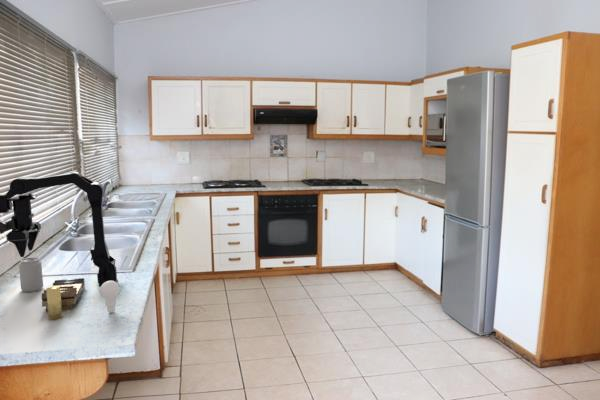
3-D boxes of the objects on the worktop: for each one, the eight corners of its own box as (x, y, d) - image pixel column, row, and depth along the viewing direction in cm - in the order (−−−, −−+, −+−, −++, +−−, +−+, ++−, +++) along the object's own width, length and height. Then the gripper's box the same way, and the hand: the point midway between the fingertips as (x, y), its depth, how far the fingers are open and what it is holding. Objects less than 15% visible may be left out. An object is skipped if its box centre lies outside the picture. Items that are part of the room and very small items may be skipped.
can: (47, 286, 192) (44, 256, 190) (37, 293, 185) (35, 261, 183) (27, 286, 192) (24, 256, 190) (17, 293, 184) (14, 261, 183)
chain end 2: (85, 288, 190) (84, 277, 189) (78, 303, 174) (77, 291, 174) (56, 290, 187) (55, 279, 186) (46, 306, 172) (45, 293, 171)
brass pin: (63, 315, 164) (61, 285, 162) (61, 319, 160) (58, 289, 158) (50, 316, 163) (47, 286, 161) (47, 320, 159) (45, 290, 157)
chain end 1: (82, 293, 184) (81, 277, 183) (75, 309, 168) (74, 291, 167) (52, 296, 181) (51, 279, 180) (42, 312, 166) (41, 294, 165)
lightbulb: (98, 312, 166) (96, 280, 164) (116, 307, 170) (114, 276, 168) (106, 317, 162) (104, 285, 160) (124, 312, 166) (122, 281, 164)
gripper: (7, 208, 189) (11, 248, 192) (-13, 217, 171) (-8, 261, 174) (39, 207, 192) (43, 246, 194) (23, 216, 174) (27, 259, 176)
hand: (26, 253), depth 185 cm, fingers open, 9 cm apart
